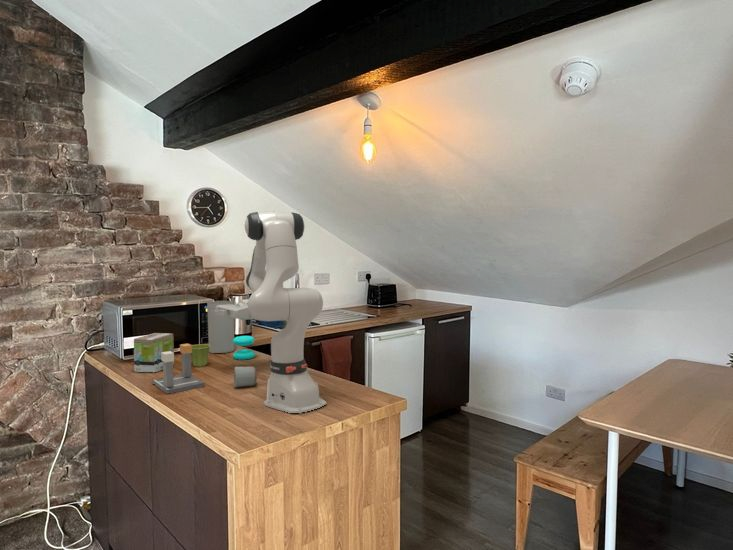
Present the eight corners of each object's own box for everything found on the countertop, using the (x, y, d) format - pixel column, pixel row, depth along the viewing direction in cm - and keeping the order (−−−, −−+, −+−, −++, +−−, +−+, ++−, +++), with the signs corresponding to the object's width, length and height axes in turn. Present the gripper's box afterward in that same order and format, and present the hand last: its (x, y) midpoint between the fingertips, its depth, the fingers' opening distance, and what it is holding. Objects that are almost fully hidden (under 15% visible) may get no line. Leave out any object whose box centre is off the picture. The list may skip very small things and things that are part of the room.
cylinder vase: (228, 347, 252) (226, 300, 250) (238, 351, 242) (237, 302, 241) (205, 351, 244) (203, 302, 242) (214, 355, 234) (213, 304, 233)
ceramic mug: (257, 387, 182) (256, 367, 181) (235, 389, 179) (234, 369, 179) (254, 380, 192) (253, 361, 191) (232, 382, 189) (232, 363, 189)
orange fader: (192, 376, 191) (191, 345, 190) (184, 377, 189) (183, 346, 188) (188, 373, 195) (187, 343, 194) (181, 375, 193) (179, 344, 192)
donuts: (258, 336, 229) (241, 340, 221) (259, 357, 229) (242, 361, 222) (245, 334, 235) (228, 337, 227) (245, 354, 235) (229, 358, 228)
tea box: (155, 373, 203) (154, 339, 202) (133, 373, 204) (132, 338, 203) (175, 364, 217) (173, 332, 216) (154, 364, 219) (153, 332, 218)
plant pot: (187, 364, 218) (186, 345, 217) (209, 361, 222) (208, 343, 221) (190, 369, 209) (189, 349, 209) (212, 366, 214) (211, 347, 213)
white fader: (175, 386, 178) (173, 353, 177) (166, 387, 176) (164, 354, 175) (171, 383, 181) (169, 351, 180) (162, 385, 179) (161, 352, 178)
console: (204, 386, 183) (204, 382, 183) (166, 394, 174) (166, 390, 174) (187, 376, 197) (187, 373, 197) (151, 383, 188) (151, 379, 188)
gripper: (234, 300, 215) (204, 303, 206) (255, 304, 199) (224, 307, 190) (234, 314, 215) (204, 317, 206) (256, 319, 200) (224, 323, 191)
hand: (214, 313), depth 198 cm, fingers closed
